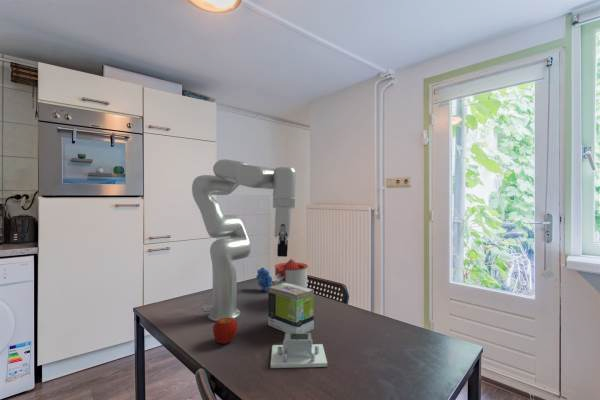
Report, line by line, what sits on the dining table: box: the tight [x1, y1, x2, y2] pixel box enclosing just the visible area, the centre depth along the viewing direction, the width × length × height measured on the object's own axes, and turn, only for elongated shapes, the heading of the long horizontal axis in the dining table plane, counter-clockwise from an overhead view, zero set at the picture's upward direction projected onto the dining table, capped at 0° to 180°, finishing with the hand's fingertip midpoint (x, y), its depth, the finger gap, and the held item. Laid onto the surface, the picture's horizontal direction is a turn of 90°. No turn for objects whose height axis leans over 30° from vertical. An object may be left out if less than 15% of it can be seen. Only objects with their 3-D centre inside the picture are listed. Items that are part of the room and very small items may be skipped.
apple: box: [212, 317, 239, 345], centre depth 97 cm, size 8×8×8 cm
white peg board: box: [270, 339, 328, 369], centre depth 87 cm, size 16×11×3 cm
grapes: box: [256, 267, 273, 292], centre depth 152 cm, size 12×7×12 cm, turn 49°
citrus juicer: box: [273, 258, 309, 288], centre depth 135 cm, size 16×17×20 cm
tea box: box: [267, 283, 315, 333], centre depth 108 cm, size 15×10×15 cm
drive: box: [283, 332, 313, 358], centre depth 87 cm, size 8×5×5 cm, turn 91°
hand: (282, 253), depth 99 cm, fingers open, 9 cm apart
